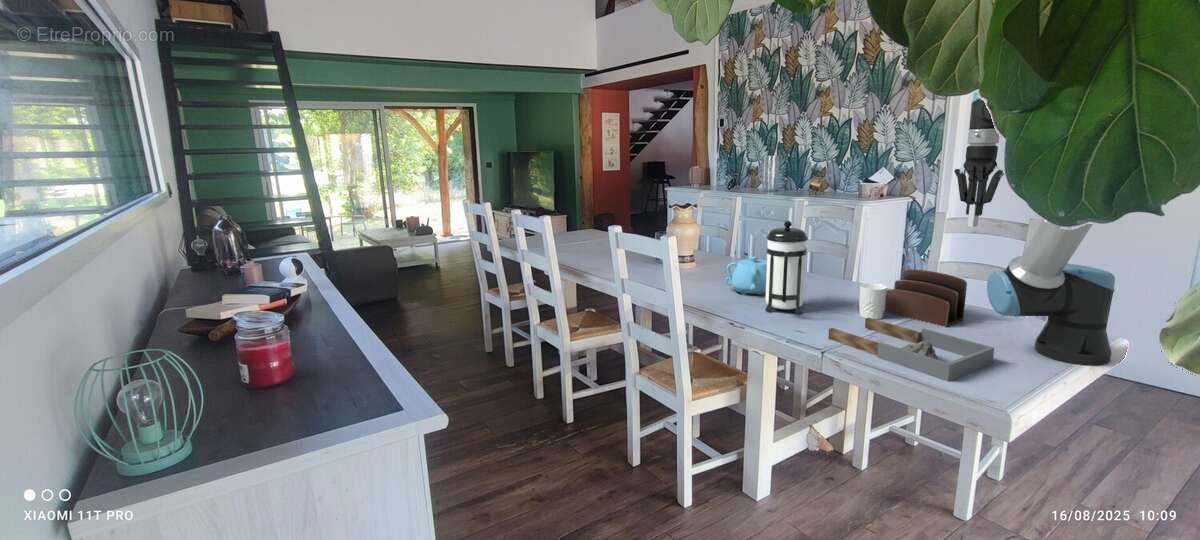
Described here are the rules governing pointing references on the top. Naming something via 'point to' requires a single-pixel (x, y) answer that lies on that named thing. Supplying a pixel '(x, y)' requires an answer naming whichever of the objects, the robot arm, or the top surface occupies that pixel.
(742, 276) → the decorative pot
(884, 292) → the white cup
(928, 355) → the fossilized seashell
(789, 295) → the coffee press
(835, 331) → the slot rails
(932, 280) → the letter holder
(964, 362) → the tray
